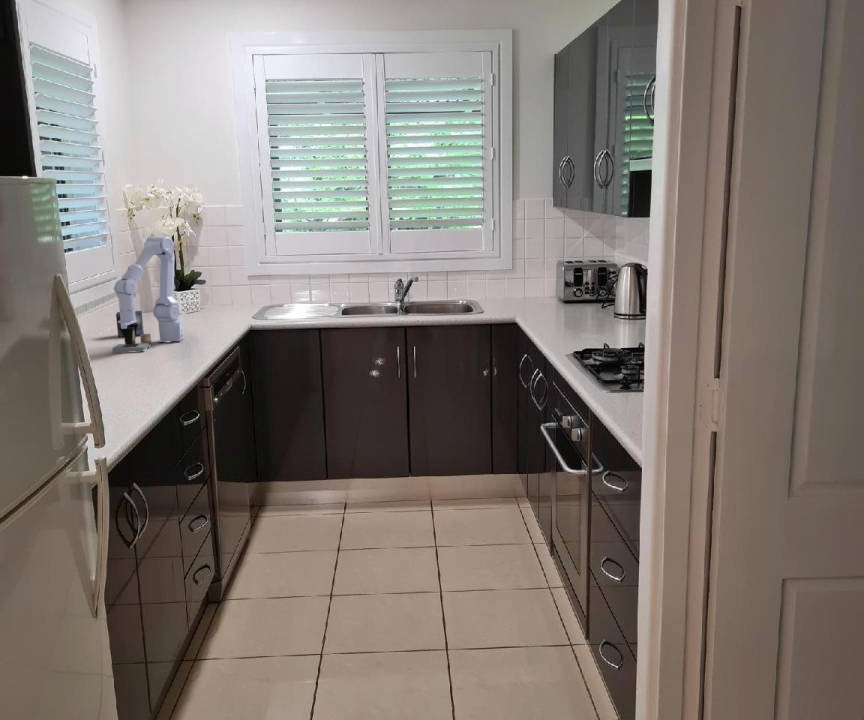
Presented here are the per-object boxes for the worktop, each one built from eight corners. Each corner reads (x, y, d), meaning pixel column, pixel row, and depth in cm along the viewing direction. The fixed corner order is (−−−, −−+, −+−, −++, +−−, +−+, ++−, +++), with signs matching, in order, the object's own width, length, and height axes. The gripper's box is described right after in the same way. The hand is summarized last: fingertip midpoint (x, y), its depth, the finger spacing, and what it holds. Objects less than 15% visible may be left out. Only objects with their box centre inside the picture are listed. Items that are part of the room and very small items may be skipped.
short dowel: (152, 344, 341) (151, 333, 340) (150, 346, 337) (149, 335, 336) (142, 344, 341) (141, 334, 340) (140, 346, 337) (139, 336, 336)
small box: (117, 337, 357) (115, 314, 355) (119, 335, 363) (116, 311, 361) (143, 336, 360) (140, 312, 357) (144, 333, 366) (141, 310, 363)
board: (149, 347, 334) (148, 343, 333) (144, 352, 326) (143, 347, 326) (119, 348, 333) (118, 344, 332) (113, 353, 325) (112, 348, 325)
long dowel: (137, 348, 331) (135, 328, 330) (134, 350, 328) (132, 330, 326) (127, 348, 331) (125, 329, 329) (124, 350, 327) (122, 330, 326)
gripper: (122, 307, 333) (125, 339, 336) (111, 313, 318) (115, 347, 321) (139, 306, 333) (143, 339, 336) (130, 312, 319) (133, 346, 322)
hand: (130, 343), depth 329 cm, fingers closed on long dowel, 4 cm apart
